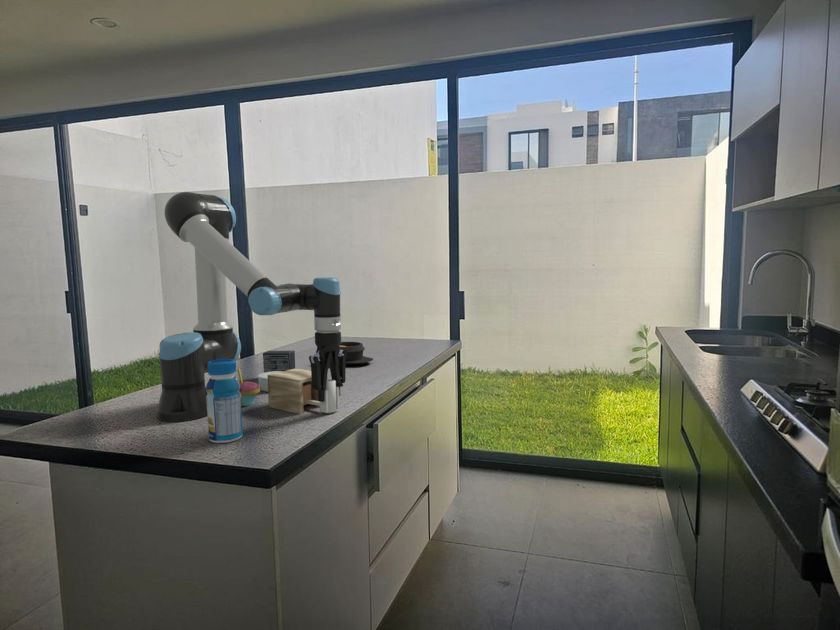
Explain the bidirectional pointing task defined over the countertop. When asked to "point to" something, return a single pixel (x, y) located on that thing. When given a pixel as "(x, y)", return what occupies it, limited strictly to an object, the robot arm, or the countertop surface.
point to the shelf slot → (289, 390)
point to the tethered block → (331, 395)
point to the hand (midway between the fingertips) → (329, 409)
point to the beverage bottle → (223, 402)
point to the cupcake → (248, 391)
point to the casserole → (354, 353)
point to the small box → (278, 360)
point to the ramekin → (265, 380)
